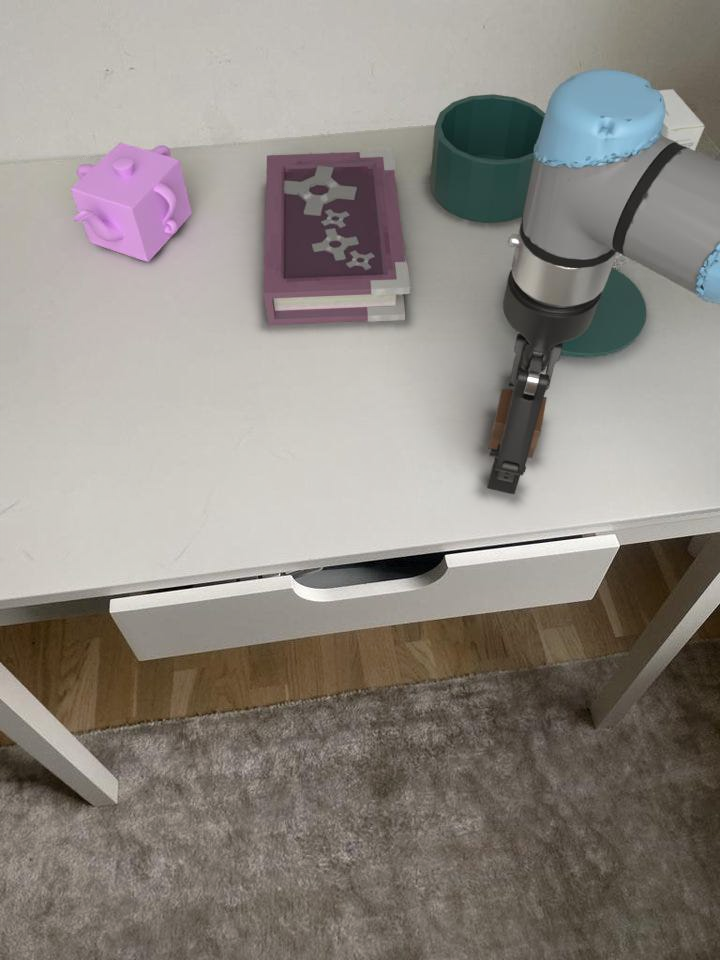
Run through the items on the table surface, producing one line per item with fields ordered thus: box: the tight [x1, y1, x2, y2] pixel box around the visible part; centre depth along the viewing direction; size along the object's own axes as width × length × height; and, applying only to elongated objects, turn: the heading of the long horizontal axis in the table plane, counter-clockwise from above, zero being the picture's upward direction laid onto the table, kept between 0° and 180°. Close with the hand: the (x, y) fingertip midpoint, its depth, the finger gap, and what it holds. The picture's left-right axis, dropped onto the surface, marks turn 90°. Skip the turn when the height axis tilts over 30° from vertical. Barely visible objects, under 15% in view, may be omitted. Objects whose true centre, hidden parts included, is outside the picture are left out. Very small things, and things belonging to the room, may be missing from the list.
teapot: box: [70, 141, 193, 263], centre depth 92 cm, size 18×14×10 cm
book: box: [263, 148, 411, 326], centre depth 93 cm, size 25×16×5 cm, turn 3°
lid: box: [560, 267, 647, 358], centre depth 85 cm, size 16×16×10 cm
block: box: [488, 388, 548, 459], centre depth 77 cm, size 4×4×4 cm
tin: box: [429, 93, 546, 224], centre depth 98 cm, size 15×15×8 cm
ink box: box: [657, 88, 706, 151], centre depth 96 cm, size 8×5×12 cm, turn 14°
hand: (512, 434), depth 79 cm, fingers open, 13 cm apart
